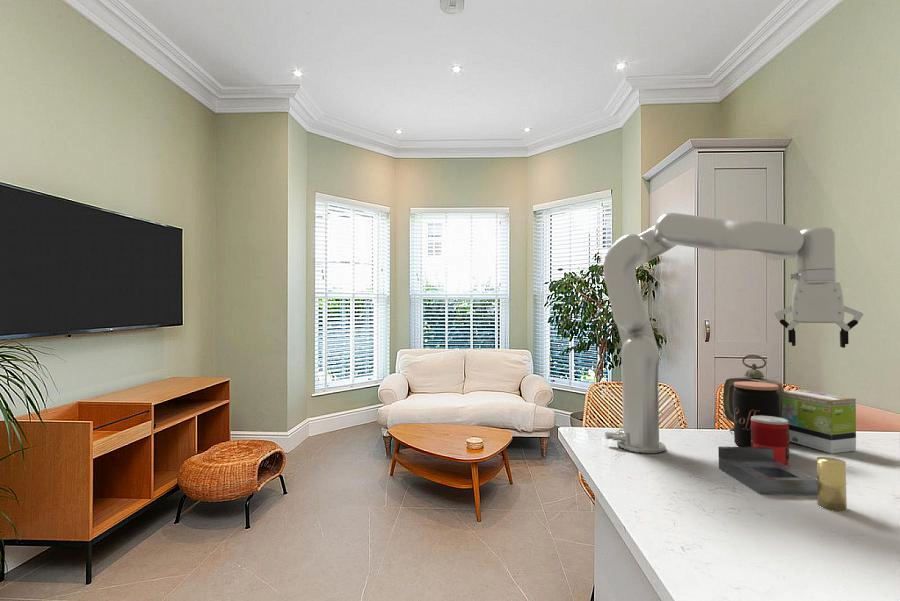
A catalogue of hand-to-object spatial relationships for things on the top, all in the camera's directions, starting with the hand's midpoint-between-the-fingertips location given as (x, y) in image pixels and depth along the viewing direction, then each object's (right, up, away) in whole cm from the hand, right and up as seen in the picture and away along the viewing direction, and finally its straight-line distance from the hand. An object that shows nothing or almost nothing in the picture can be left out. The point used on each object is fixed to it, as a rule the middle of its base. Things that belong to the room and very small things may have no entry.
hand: (817, 346), depth 117 cm
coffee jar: (-6, -30, +14) cm, 34 cm away
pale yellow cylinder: (-17, -29, -25) cm, 42 cm away
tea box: (+13, -30, +18) cm, 38 cm away
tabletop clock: (+3, -31, +28) cm, 42 cm away
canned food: (-10, -30, +2) cm, 32 cm away
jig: (-21, -29, -11) cm, 37 cm away
